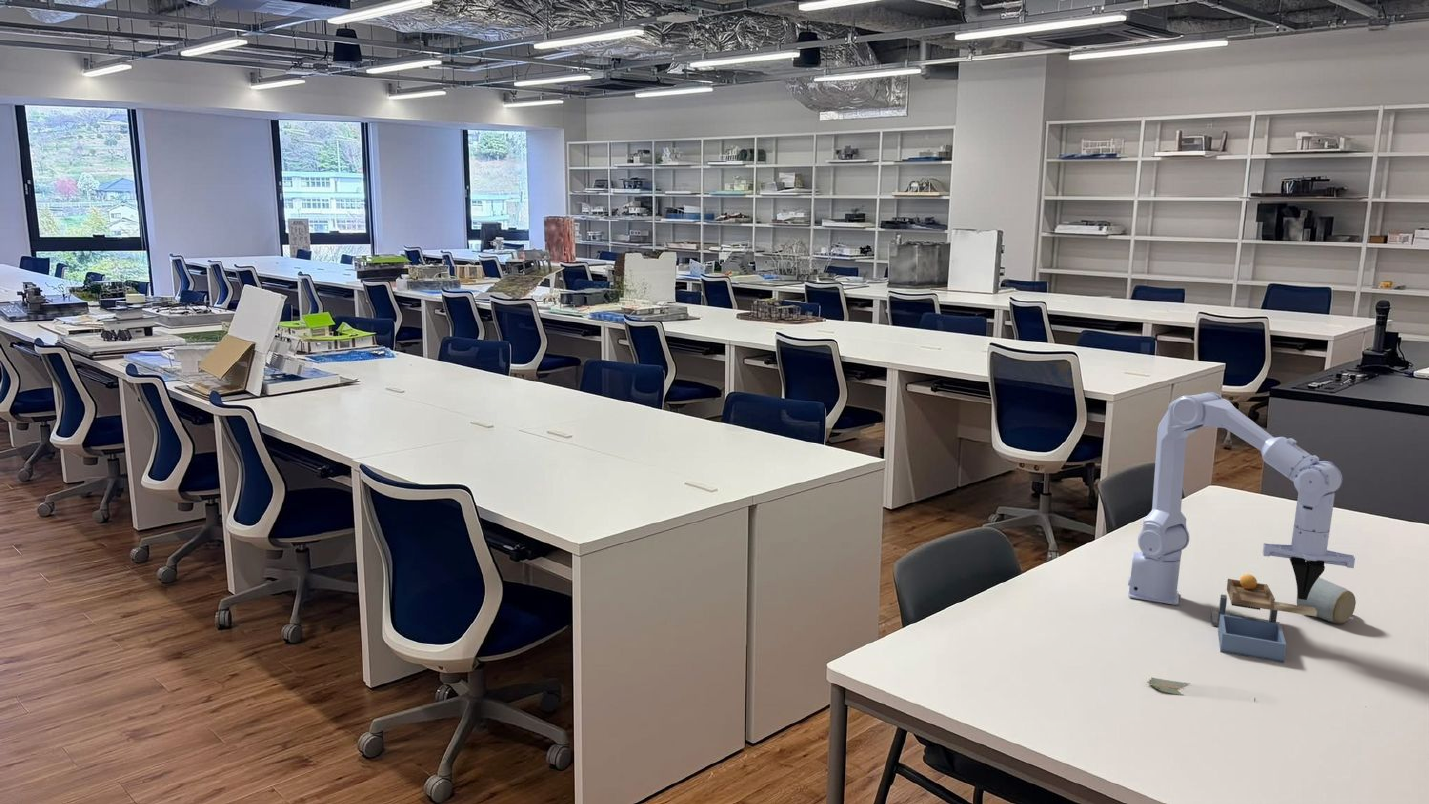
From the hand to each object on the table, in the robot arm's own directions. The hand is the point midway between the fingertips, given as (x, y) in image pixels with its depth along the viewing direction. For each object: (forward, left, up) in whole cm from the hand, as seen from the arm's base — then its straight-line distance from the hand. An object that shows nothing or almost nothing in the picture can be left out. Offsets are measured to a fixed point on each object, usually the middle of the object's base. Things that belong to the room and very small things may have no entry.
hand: (1301, 597), depth 187 cm
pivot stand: (-8, +5, -9) cm, 13 cm away
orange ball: (-8, +10, -2) cm, 13 cm away
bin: (-8, -5, -9) cm, 13 cm away
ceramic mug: (+7, +18, -9) cm, 22 cm away
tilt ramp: (-5, +5, -6) cm, 9 cm away
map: (-15, -29, -10) cm, 34 cm away
